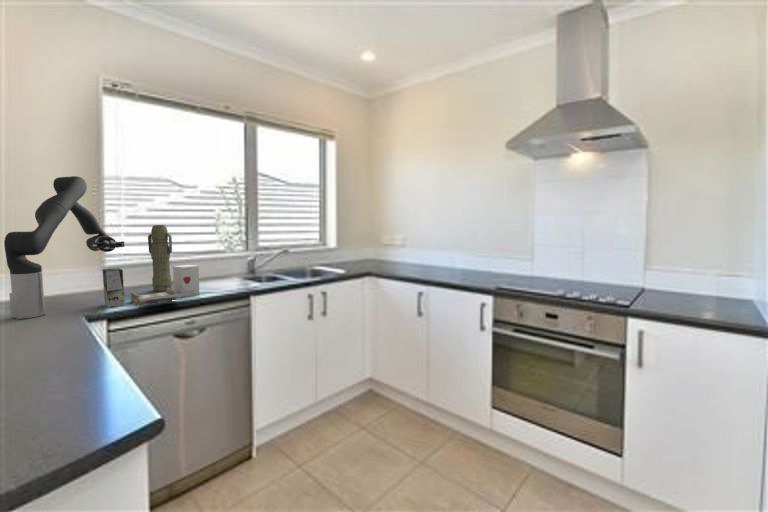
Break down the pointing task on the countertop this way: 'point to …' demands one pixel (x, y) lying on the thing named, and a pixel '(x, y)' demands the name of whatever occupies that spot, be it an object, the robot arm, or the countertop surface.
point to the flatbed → (136, 298)
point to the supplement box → (186, 279)
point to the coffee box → (113, 287)
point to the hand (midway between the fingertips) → (112, 245)
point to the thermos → (160, 257)
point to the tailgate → (161, 298)
